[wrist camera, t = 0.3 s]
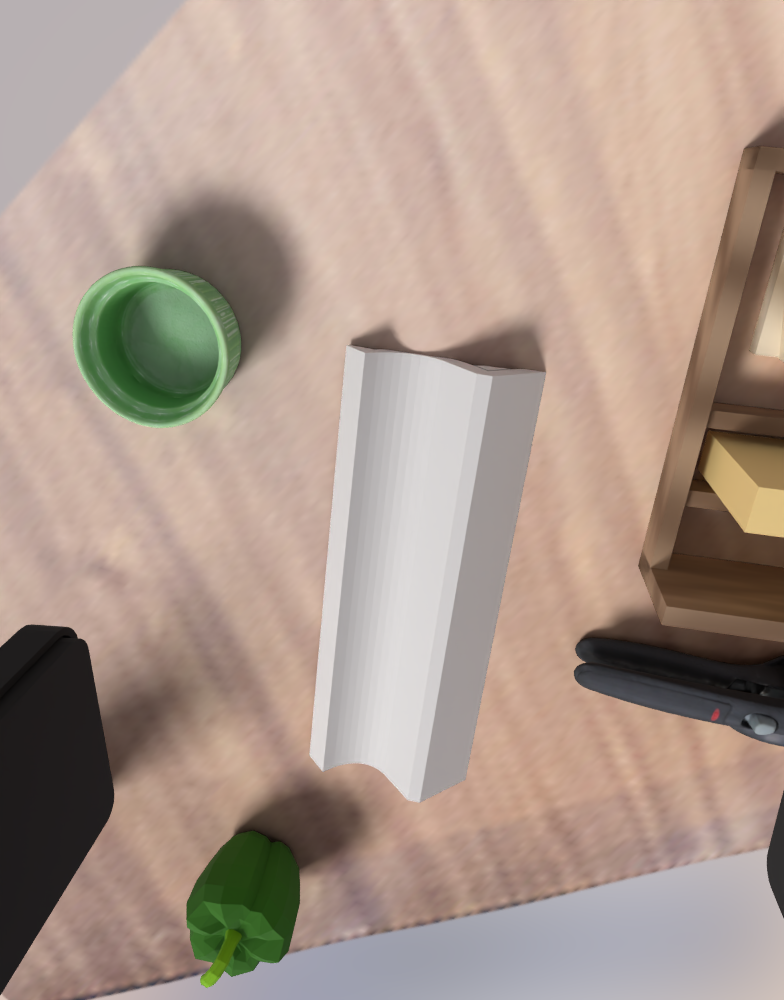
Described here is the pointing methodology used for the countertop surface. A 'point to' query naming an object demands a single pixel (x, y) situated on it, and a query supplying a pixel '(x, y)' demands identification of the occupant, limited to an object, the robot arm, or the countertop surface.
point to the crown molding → (417, 560)
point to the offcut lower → (771, 311)
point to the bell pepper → (244, 906)
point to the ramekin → (156, 344)
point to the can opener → (688, 685)
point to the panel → (747, 479)
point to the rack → (684, 578)
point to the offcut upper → (782, 342)
